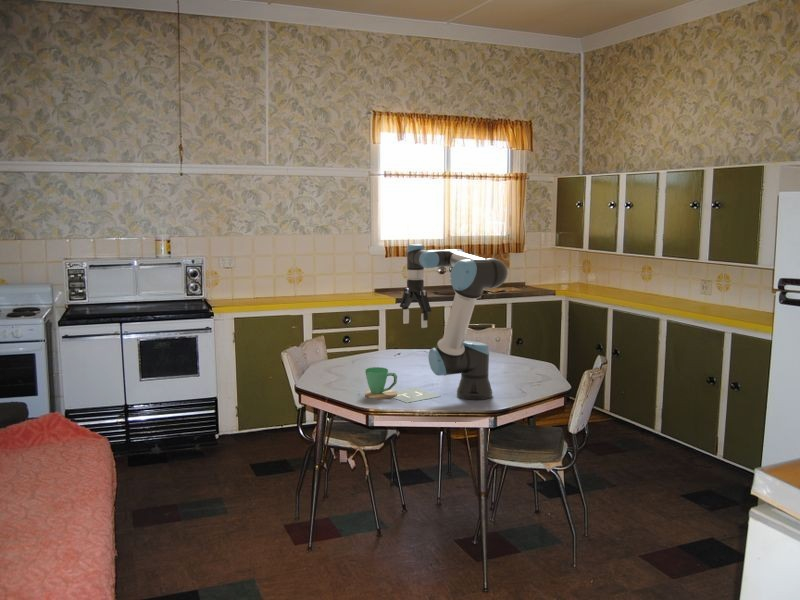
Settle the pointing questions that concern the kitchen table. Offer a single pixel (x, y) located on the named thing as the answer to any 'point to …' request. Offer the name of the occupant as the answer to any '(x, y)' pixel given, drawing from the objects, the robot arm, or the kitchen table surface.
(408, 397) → the tile
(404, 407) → the kitchen table surface
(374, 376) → the mug
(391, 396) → the coaster
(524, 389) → the kitchen table surface
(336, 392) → the kitchen table surface
